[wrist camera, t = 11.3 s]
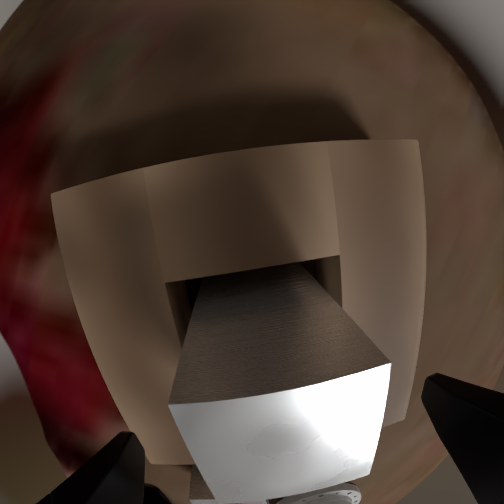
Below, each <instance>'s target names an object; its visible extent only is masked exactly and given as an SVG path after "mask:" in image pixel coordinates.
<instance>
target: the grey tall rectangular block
mask: <svg viewBox="0 0 504 504" xmlns="http://www.w3.org/2000/svg"><path fill="white" fill-rule="evenodd" d="M390 370H391V362H390V360H389V359H388V358H387V357H386V356H385V355H384V354H383V353H382V351H381V350H380V349H379V348H378V347H377V346H376V345H375V344H374V343H373V341H372V340H371V339H370V338H369V337H368V336H367V335H366V334H365V333H364V332H363V330H362V329H361V328H360V327H359V326H358V325H357V324H356V323H355V322H354V321H353V319H352V318H351V317H350V316H349V315H348V314H347V313H346V312H345V311H344V310H343V309H342V308H341V306H340V305H339V304H338V303H337V302H336V301H335V300H334V299H333V298H332V297H331V296H330V295H329V294H328V292H327V291H326V290H325V289H324V288H323V287H322V286H321V285H320V284H319V283H318V282H317V281H316V280H315V279H314V278H313V277H312V275H311V274H310V273H309V272H308V271H307V270H306V269H305V268H304V267H303V266H302V265H301V264H300V263H299V262H294V263H288V264H282V265H276V266H270V267H264V268H258V269H251V270H245V271H239V272H232V273H226V274H220V275H213V276H207V277H202V281H201V284H200V287H199V291H198V294H197V298H196V301H195V305H194V308H193V312H192V315H191V319H190V322H189V326H188V329H187V333H186V337H185V340H184V344H183V348H182V351H181V355H180V359H179V363H178V366H177V370H176V374H175V378H174V382H173V386H172V390H171V394H170V398H169V402H168V407H169V409H170V411H171V414H172V416H173V418H174V420H175V423H176V425H177V427H178V429H179V431H180V433H181V435H182V438H183V440H184V442H185V444H186V446H187V448H188V450H189V452H190V454H191V456H192V458H193V460H194V462H195V463H196V465H197V467H198V469H199V471H200V473H201V475H202V476H203V478H204V480H205V482H206V484H207V485H208V487H209V489H210V491H211V492H212V494H213V496H214V497H215V499H216V501H217V502H218V504H227V503H240V502H251V501H259V500H267V499H274V498H280V497H286V496H291V495H296V494H301V493H306V492H310V491H315V490H319V489H323V488H327V487H330V486H334V485H338V484H341V483H344V482H348V481H351V480H354V479H357V478H360V477H363V476H366V475H369V474H370V470H371V467H372V463H373V459H374V455H375V451H376V447H377V443H378V439H379V434H380V430H381V425H382V420H383V415H384V409H385V404H386V398H387V391H388V385H389V378H390Z"/></svg>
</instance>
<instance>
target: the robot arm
mask: <svg viewBox="0 0 504 504" xmlns="http://www.w3.org/2000/svg"><path fill="white" fill-rule="evenodd" d="M421 399H422V402H423V405H424V407H425V409H426V411H427V413H428V415H429V417H430V419H431V421H432V423H433V425H434V428H435V430H436V432H437V434H438V436H439V437H440V439H441V441H442V442H443V444H444V446H445V447H446V449H447V451H448V452H449V454H450V455H451V457H452V459H453V461H454V462H455V464H456V466H457V467H458V469H459V471H460V472H461V474H462V476H463V478H464V479H465V481H466V483H467V485H468V486H469V488H470V490H471V492H472V493H473V495H474V497H475V499H476V501H477V502H478V504H504V393H500V392H497V391H494V390H490V389H487V388H484V387H480V386H477V385H474V384H471V383H467V382H464V381H461V380H458V379H455V378H452V377H449V376H446V375H443V374H440V373H435V374H433V375H430V376H428V377H427V378H426V379H425V383H424V387H423V391H422V395H421ZM144 473H145V450H144V447H143V446H142V444H141V442H140V441H139V439H138V437H137V436H136V434H135V433H134V432H126V431H122V432H120V433H119V434H118V435H116V436H115V437H114V438H113V439H112V440H111V441H110V442H109V443H108V444H106V445H105V446H104V447H103V448H102V449H101V450H100V451H99V452H97V453H96V454H95V455H94V456H93V457H92V458H91V459H89V460H88V461H87V462H86V463H85V464H84V465H82V466H81V467H80V468H79V469H78V470H77V471H75V472H74V473H73V474H72V475H71V476H70V477H68V478H67V479H66V480H65V481H64V482H62V483H61V484H60V485H59V486H58V487H57V488H56V489H54V490H53V491H52V492H51V493H50V494H48V495H46V496H45V497H44V498H43V499H41V500H40V501H39V502H38V503H36V504H171V503H170V502H169V501H168V500H167V499H166V497H165V496H164V495H163V494H162V492H161V491H160V490H158V489H156V488H145V487H144Z"/></svg>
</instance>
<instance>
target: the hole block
mask: <svg viewBox="0 0 504 504" xmlns="http://www.w3.org/2000/svg"><path fill="white" fill-rule="evenodd" d="M51 201H52V208H53V214H54V220H55V226H56V231H57V236H58V241H59V246H60V250H61V255H62V259H63V263H64V267H65V271H66V275H67V279H68V282H69V286H70V289H71V293H72V296H73V299H74V303H75V306H76V309H77V312H78V315H79V318H80V321H81V324H82V326H83V329H84V332H85V335H86V337H87V340H88V343H89V345H90V348H91V350H92V353H93V355H94V358H95V360H96V362H97V365H98V367H99V369H100V372H101V374H102V376H103V378H104V381H105V383H106V385H107V387H108V389H109V391H110V393H111V395H112V397H113V399H114V401H115V403H116V405H117V407H118V409H119V411H120V413H121V415H122V417H123V418H124V420H125V422H126V424H127V426H128V427H129V429H130V431H131V432H134V433H135V434H136V436H137V437H138V439H139V441H140V442H141V444H142V446H143V447H144V450H145V456H146V457H147V459H148V460H149V462H150V463H151V464H168V465H186V464H196V463H195V462H194V460H193V458H192V456H191V454H190V452H189V450H188V448H187V446H186V444H185V442H184V440H183V438H182V435H181V433H180V431H179V429H178V427H177V425H176V423H175V420H174V418H173V416H172V414H171V411H170V409H169V407H168V402H169V398H170V394H171V390H172V386H173V382H174V378H175V374H176V370H177V366H178V363H179V359H180V355H181V351H182V348H183V344H184V340H185V337H186V333H187V329H188V326H189V322H190V319H191V315H192V309H191V305H190V300H189V296H188V291H187V287H186V282H185V280H187V279H193V278H200V277H207V276H213V275H220V274H226V273H232V272H239V271H245V270H251V269H258V268H264V267H270V266H276V265H282V264H288V263H294V262H300V261H306V260H312V259H315V269H316V281H317V282H318V283H319V284H320V285H321V286H322V287H323V288H324V289H325V290H326V291H327V292H328V294H329V295H330V296H331V297H332V298H333V299H334V300H335V301H336V302H337V303H338V304H339V305H340V306H341V308H342V309H343V310H344V311H345V312H346V313H347V314H348V315H349V316H350V317H351V318H352V319H353V321H354V322H355V323H356V324H357V325H358V326H359V327H360V328H361V329H362V330H363V332H364V333H365V334H366V335H367V336H368V337H369V338H370V339H371V340H372V341H373V343H374V344H375V345H376V346H377V347H378V348H379V349H380V350H381V351H382V353H383V354H384V355H385V356H386V357H387V358H388V359H389V360H390V362H391V370H390V378H389V385H388V391H387V398H386V404H385V409H384V415H383V420H382V425H381V428H383V427H386V426H389V425H391V424H394V423H396V422H399V421H401V420H404V419H405V415H406V411H407V407H408V403H409V399H410V394H411V390H412V385H413V380H414V375H415V370H416V364H417V358H418V352H419V345H420V338H421V330H422V321H423V311H424V299H425V282H426V214H425V198H424V186H423V176H422V167H421V159H420V152H419V145H418V140H400V139H375V140H341V141H323V142H308V143H296V144H285V145H276V146H267V147H258V148H250V149H243V150H236V151H229V152H222V153H216V154H210V155H204V156H198V157H193V158H187V159H182V160H177V161H172V162H167V163H162V164H158V165H153V166H149V167H144V168H140V169H136V170H132V171H127V172H123V173H120V174H116V175H112V176H108V177H104V178H101V179H97V180H94V181H90V182H87V183H83V184H80V185H77V186H73V187H70V188H67V189H64V190H61V191H58V192H55V193H52V194H51Z"/></svg>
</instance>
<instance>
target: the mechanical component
mask: <svg viewBox="0 0 504 504" xmlns="http://www.w3.org/2000/svg"><path fill="white" fill-rule="evenodd" d="M360 500H361V493H360V491H359V489H358V487H357V486H356V485H354V484H349V483H341V484H338V485H334V486H330V487H327V488H323V489H319V490H315V491H310V492H306V493H301V494H296V495H291V496H287V497H285V498H284V499H282V500H280V501H278V502H277V503H276V504H358V503H359V502H360Z"/></svg>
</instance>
